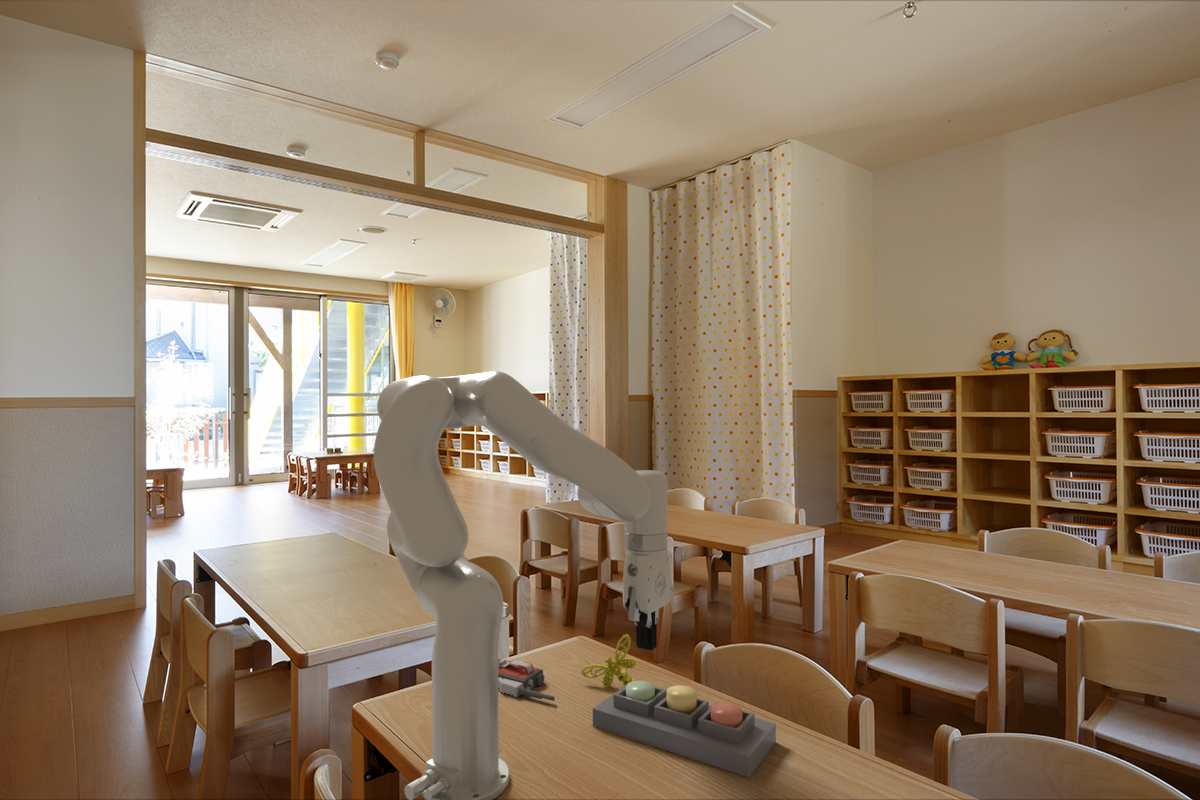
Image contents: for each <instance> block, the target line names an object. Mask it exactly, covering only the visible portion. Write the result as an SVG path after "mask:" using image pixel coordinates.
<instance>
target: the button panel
mask: <svg viewBox="0 0 1200 800" xmlns="http://www.w3.org/2000/svg"><path fill="white" fill-rule="evenodd" d="M709 702H710V701H709V700H708V699H707V700H706V699H703V698H700V697H699V698H698V697H697V709H695V710H694V711H693V712H692V713H689V714H685V713H681V712H678V711H674V710H671V709H668V708H667V689H665V688H661V687H657V686H655V696H654V697H653V698H652V699H650V700H649V701H648V702H643V701H639V700H636V699H632V698H629V697H626V686H625V685H624V686H622V687H621V688H620V689H619V690H617V691H616V692H614V693H613V694H612V695H610V696H609V697H607V698H606V699H604V700H603V701H601V702H600V703H599V704H597V705H596V706H594V707H593V708H592V726H593V727H594V728H598V729H599V730H603V731H607V732H610V733H612V734H615V735H619V736H622V737H624V738H628V739H631V740H634V741H637V742H640V743H642V744H646V745H649V746H652V747H654V748H659V749H661V750H664V751H666V752H667V751H668V752H670V753H672V754H676V755H680V756H682V757H686V758H689V759H692V760H695V761H697V762H701V763H703V764H707V765H710V766H713V767H715V768H719V769H722V770H725V771H728V772H732V773H733V774H737V775H740V776H743V777H747V778H751V776H752V775H753V773H754V772H755V771H756V770H757V768H758V767H759V766H760V764H761V763H762V762H763V760H764V758H765V757H766V756H767V755H768V753H769V752H770V751H771V749H773V747H774V745H775V744H776V742H777V740H776V739H777V735H776V734H777V733H776V732H777V731H776V729H777V728H776V725H777V724H776V723H775V722H772V721H768V720H765V719H760V718H756V717H755V713H754V712H751V711H747V710H743V709H742V719H743V722H742V723H741V724H740V725H739V726H738V727H737V728H733V727H730V726H726V725H723V724H719V723H716V722H712V721H711V707H712V706H713V705H715V704H719V703H718V702H715V703H713V705H710V703H709ZM774 743H775V744H774ZM772 746H773V747H772Z"/></svg>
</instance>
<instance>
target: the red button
mask: <svg viewBox="0 0 1200 800" xmlns="http://www.w3.org/2000/svg"><path fill="white" fill-rule="evenodd" d="M714 704H715V703H714ZM714 704H712V705H711V706H712V707H711V721H712V722H716V723H719V724H723V725H726V726H730V727H733V728H737V727H738V726H739V725H740V724H741V723H742V722H743V719H742V710H743V709H742V708H741V707H739V706H738V705H736V704H732V703H726V702H725V703H724V702H722V703H721V702H719V703H718V704H715V705H714Z"/></svg>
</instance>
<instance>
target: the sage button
mask: <svg viewBox="0 0 1200 800" xmlns="http://www.w3.org/2000/svg"><path fill="white" fill-rule="evenodd" d="M655 687H656V686H655V685H654V684H653V683H652V682H649V681H646V680H636V681H633V682H630V683H628V684H627V685H626V697H629V698H632V699H636V700H639V701H643V702H648V701H649V700H650V699H652V698H653V697H654V696H655Z"/></svg>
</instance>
